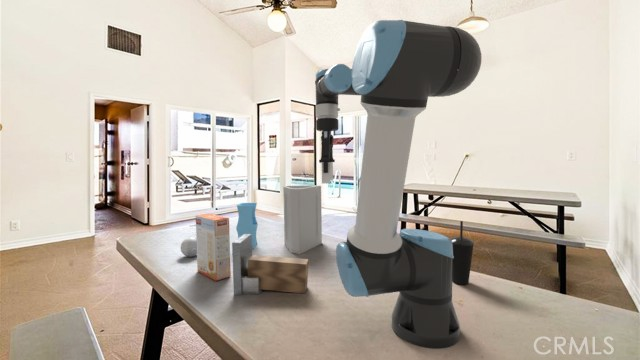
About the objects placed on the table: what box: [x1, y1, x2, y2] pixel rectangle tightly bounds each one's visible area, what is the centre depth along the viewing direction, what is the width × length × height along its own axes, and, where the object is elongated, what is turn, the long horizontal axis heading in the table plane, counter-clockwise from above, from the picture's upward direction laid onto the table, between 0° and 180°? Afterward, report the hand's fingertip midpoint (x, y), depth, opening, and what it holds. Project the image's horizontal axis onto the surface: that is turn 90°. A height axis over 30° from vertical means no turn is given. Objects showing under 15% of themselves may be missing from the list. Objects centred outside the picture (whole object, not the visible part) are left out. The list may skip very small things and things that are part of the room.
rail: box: [248, 254, 309, 294], centre depth 91 cm, size 18×4×9 cm, turn 84°
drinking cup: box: [449, 220, 476, 286], centre depth 94 cm, size 8×8×20 cm
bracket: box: [231, 234, 263, 296], centre depth 91 cm, size 10×7×16 cm
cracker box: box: [195, 213, 232, 282], centre depth 103 cm, size 14×6×21 cm, turn 47°
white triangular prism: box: [282, 184, 323, 255], centre depth 136 cm, size 19×15×28 cm
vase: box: [236, 202, 259, 249], centre depth 137 cm, size 8×8×20 cm
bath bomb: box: [180, 237, 197, 258], centre depth 124 cm, size 8×8×8 cm
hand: (327, 181), depth 99 cm, fingers open, 13 cm apart
